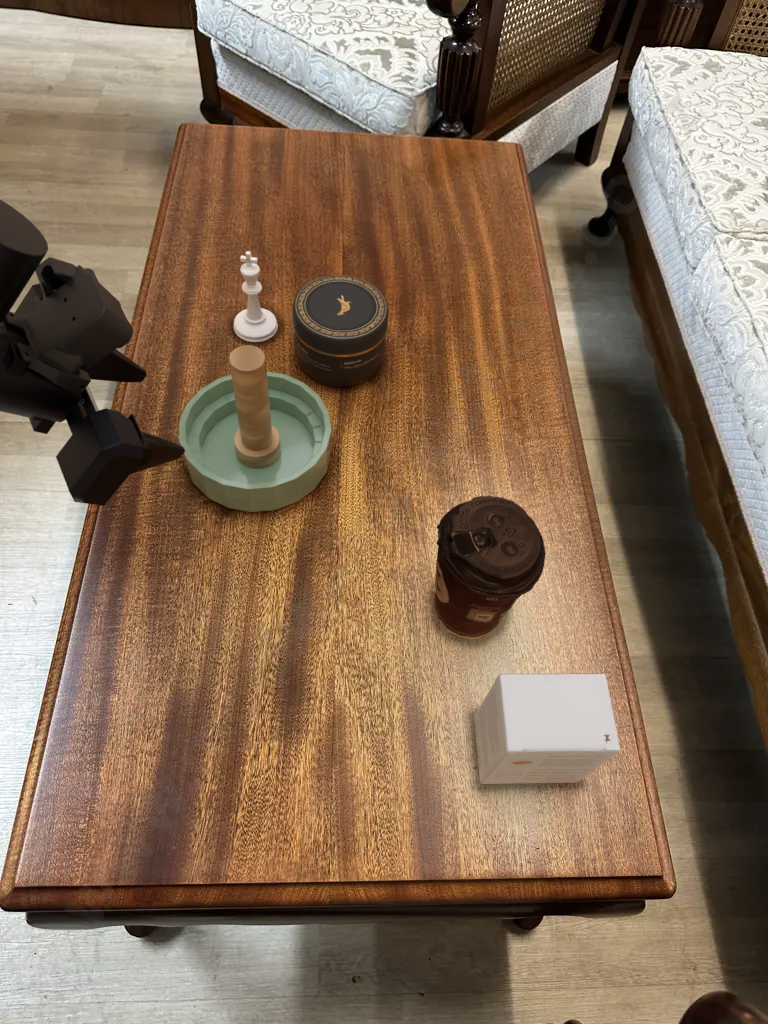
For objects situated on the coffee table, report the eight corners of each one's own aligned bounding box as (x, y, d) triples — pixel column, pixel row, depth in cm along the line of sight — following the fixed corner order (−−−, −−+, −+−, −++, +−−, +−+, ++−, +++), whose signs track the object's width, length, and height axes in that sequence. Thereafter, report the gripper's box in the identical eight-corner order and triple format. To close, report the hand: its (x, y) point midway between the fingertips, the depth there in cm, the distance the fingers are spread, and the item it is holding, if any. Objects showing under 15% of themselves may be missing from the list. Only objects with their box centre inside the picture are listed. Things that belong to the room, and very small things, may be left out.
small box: (566, 714, 60) (609, 671, 51) (577, 785, 57) (624, 751, 48) (471, 714, 60) (498, 670, 51) (478, 785, 57) (507, 752, 48)
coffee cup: (405, 629, 63) (423, 558, 52) (434, 552, 67) (456, 472, 57) (500, 664, 62) (538, 599, 51) (523, 584, 66) (563, 508, 55)
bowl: (156, 475, 70) (147, 447, 66) (238, 381, 77) (234, 351, 73) (282, 538, 67) (280, 512, 63) (355, 434, 74) (357, 406, 70)
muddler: (245, 474, 70) (230, 383, 59) (229, 441, 72) (213, 347, 61) (287, 460, 71) (281, 368, 60) (271, 428, 73) (262, 333, 62)
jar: (363, 318, 83) (367, 264, 77) (398, 379, 79) (405, 326, 72) (281, 338, 81) (278, 283, 74) (312, 402, 76) (312, 350, 70)
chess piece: (239, 308, 83) (230, 234, 74) (281, 315, 83) (277, 241, 74) (228, 338, 80) (218, 264, 72) (272, 345, 80) (266, 272, 72)
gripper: (74, 368, 41) (265, 426, 54) (-6, 184, 49) (177, 273, 62) (-17, 495, 45) (181, 521, 58) (-77, 306, 53) (108, 365, 66)
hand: (162, 413), depth 61 cm, fingers open, 9 cm apart
